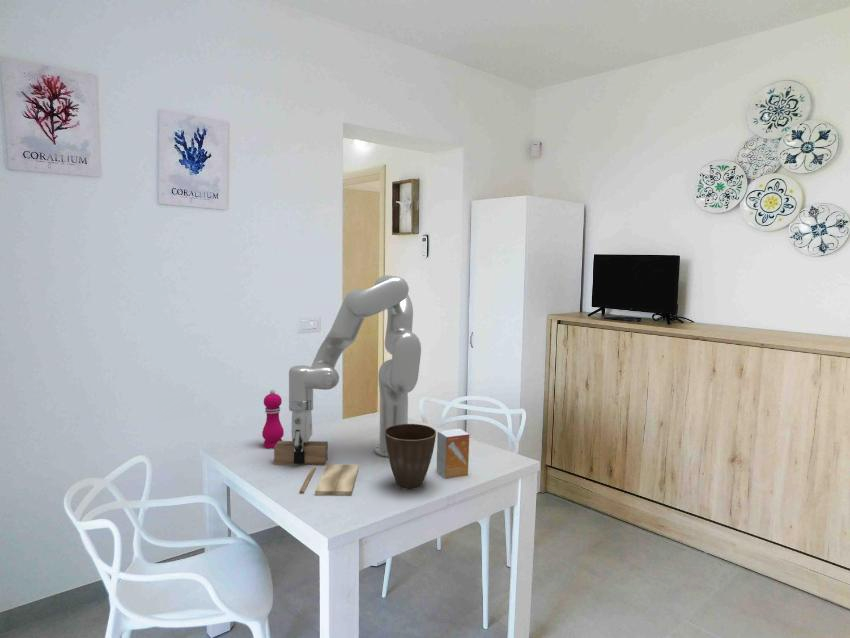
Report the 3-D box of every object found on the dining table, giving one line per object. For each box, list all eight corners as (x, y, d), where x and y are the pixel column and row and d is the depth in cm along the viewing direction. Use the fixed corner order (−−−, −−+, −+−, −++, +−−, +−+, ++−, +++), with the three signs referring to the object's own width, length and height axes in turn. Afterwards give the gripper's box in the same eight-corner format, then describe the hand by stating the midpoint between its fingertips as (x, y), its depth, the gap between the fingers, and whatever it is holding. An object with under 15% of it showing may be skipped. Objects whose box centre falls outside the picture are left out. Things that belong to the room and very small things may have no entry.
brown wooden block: (278, 458, 180) (278, 440, 179) (327, 459, 180) (327, 441, 179) (274, 464, 174) (274, 446, 174) (325, 465, 174) (325, 447, 174)
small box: (445, 479, 165) (446, 436, 164) (436, 471, 171) (436, 430, 170) (468, 475, 169) (470, 433, 167) (459, 467, 174) (460, 427, 173)
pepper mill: (257, 447, 190) (257, 390, 188) (271, 441, 196) (270, 386, 194) (275, 450, 187) (274, 392, 185) (288, 444, 194) (287, 388, 192)
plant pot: (445, 487, 159) (446, 433, 157) (402, 499, 150) (403, 443, 149) (416, 471, 171) (417, 421, 169) (374, 481, 162) (375, 428, 161)
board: (359, 468, 172) (359, 464, 172) (351, 495, 152) (351, 491, 152) (312, 467, 172) (312, 464, 172) (298, 494, 152) (298, 490, 152)
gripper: (307, 412, 167) (307, 470, 168) (317, 398, 184) (317, 450, 186) (282, 411, 166) (283, 469, 168) (295, 397, 184) (295, 450, 185)
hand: (301, 459), depth 177 cm, fingers closed on brown wooden block, 5 cm apart
